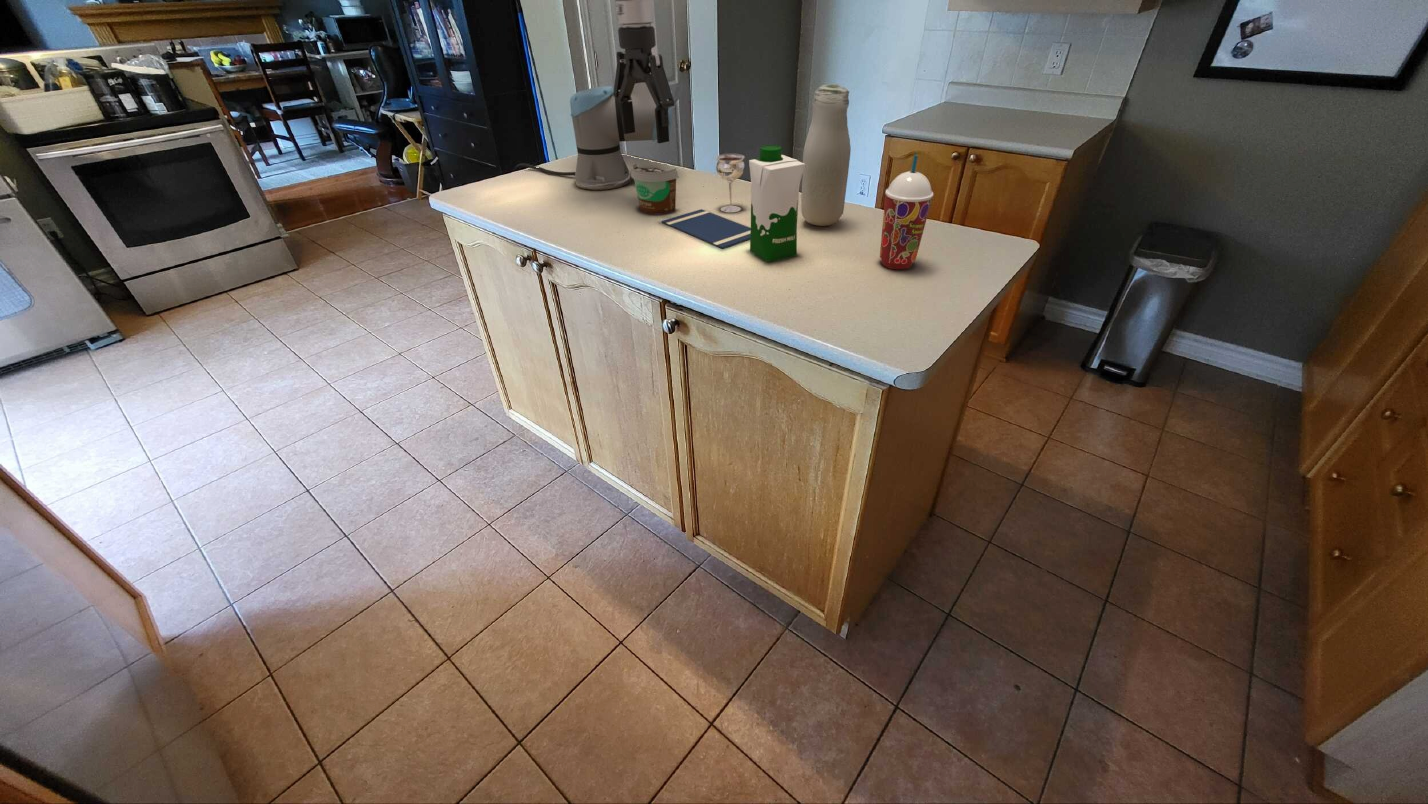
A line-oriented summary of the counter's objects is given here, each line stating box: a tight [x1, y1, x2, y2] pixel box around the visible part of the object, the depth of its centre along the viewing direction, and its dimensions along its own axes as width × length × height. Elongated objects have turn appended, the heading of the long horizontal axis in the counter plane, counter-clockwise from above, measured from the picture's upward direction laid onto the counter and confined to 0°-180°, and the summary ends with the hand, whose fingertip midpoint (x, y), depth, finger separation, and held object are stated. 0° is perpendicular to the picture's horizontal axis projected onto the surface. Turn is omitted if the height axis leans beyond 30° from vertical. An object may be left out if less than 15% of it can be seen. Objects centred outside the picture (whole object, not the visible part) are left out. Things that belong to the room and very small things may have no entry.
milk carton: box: [748, 144, 805, 264], centre depth 111 cm, size 9×9×20 cm
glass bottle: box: [800, 84, 852, 227], centre depth 121 cm, size 10×10×28 cm
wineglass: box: [715, 153, 746, 213], centre depth 136 cm, size 7×7×12 cm
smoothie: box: [879, 154, 934, 270], centre depth 105 cm, size 8×8×20 cm
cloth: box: [661, 208, 751, 250], centre depth 129 cm, size 22×12×1 cm, turn 40°
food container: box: [630, 163, 679, 215], centre depth 136 cm, size 12×6×10 cm, turn 62°
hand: (645, 137), depth 129 cm, fingers open, 13 cm apart
